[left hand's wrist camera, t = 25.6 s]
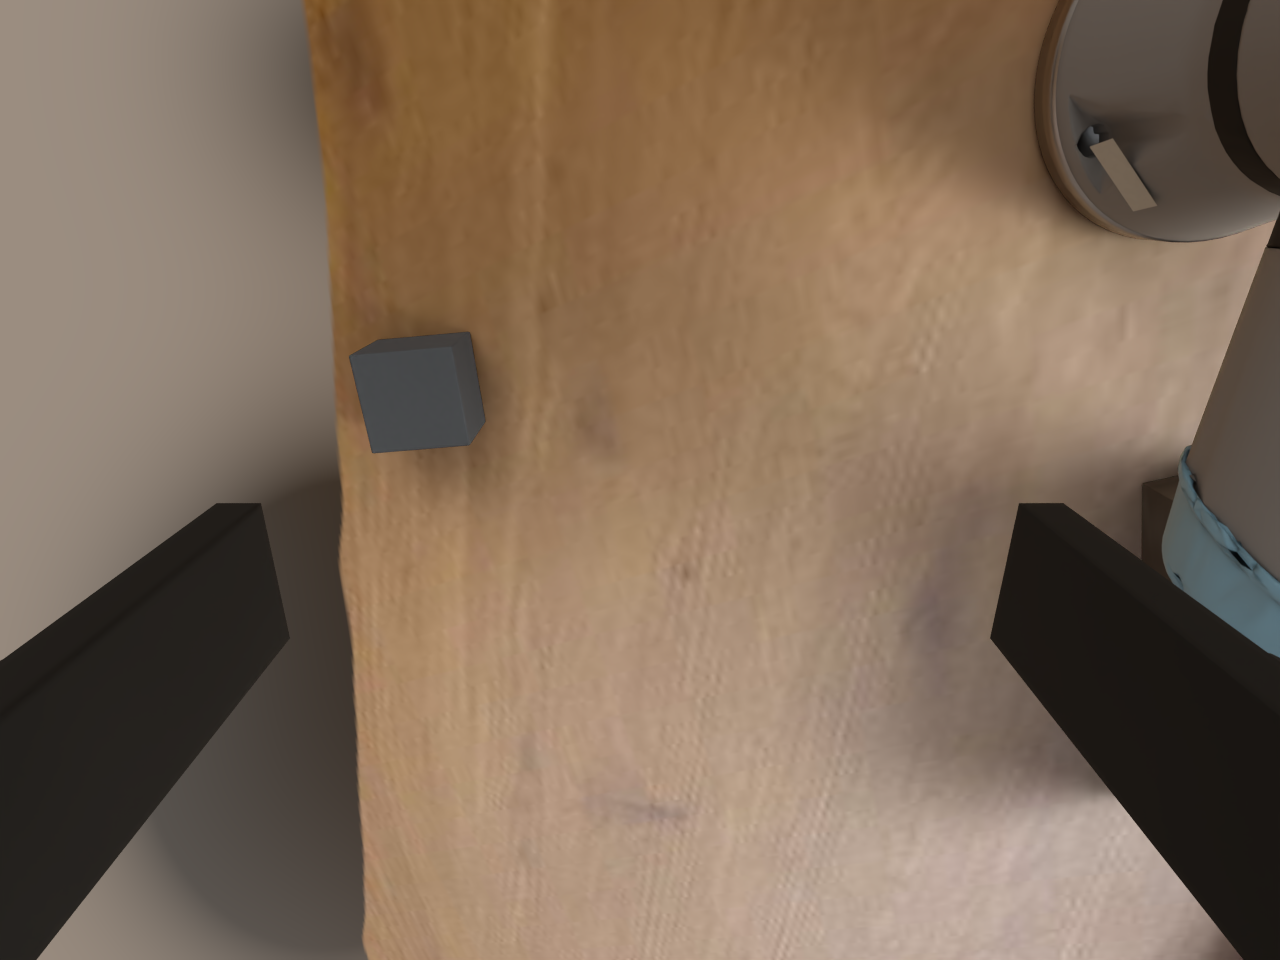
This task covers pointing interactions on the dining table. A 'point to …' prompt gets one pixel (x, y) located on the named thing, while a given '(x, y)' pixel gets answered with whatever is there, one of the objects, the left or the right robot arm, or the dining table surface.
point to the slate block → (419, 392)
